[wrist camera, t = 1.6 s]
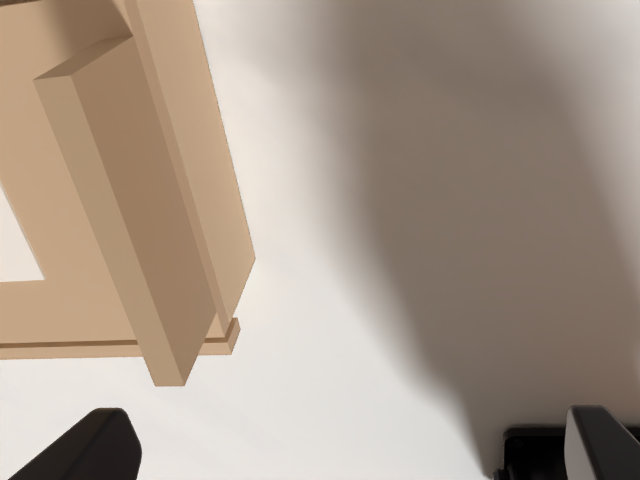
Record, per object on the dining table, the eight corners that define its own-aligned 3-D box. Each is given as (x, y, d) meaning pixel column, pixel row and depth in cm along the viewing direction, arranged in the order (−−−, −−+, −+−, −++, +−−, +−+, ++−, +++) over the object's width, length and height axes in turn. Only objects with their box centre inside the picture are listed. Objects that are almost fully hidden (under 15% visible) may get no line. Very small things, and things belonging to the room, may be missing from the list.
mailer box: (183, -39, 17) (132, -17, 14) (255, 258, 22) (230, 322, 19) (-224, 23, 19) (-341, 54, 16) (-74, 276, 24) (-142, 334, 21)
